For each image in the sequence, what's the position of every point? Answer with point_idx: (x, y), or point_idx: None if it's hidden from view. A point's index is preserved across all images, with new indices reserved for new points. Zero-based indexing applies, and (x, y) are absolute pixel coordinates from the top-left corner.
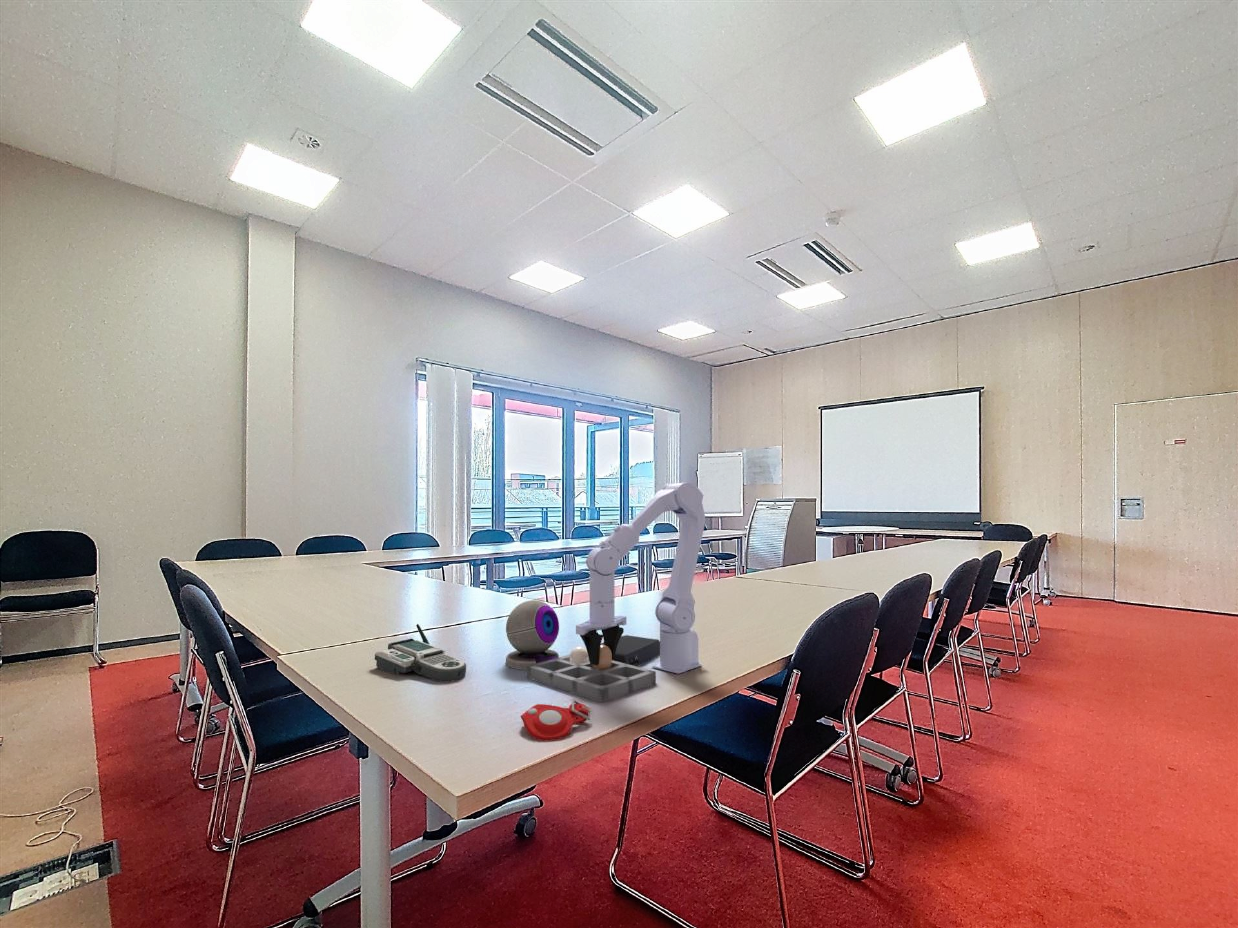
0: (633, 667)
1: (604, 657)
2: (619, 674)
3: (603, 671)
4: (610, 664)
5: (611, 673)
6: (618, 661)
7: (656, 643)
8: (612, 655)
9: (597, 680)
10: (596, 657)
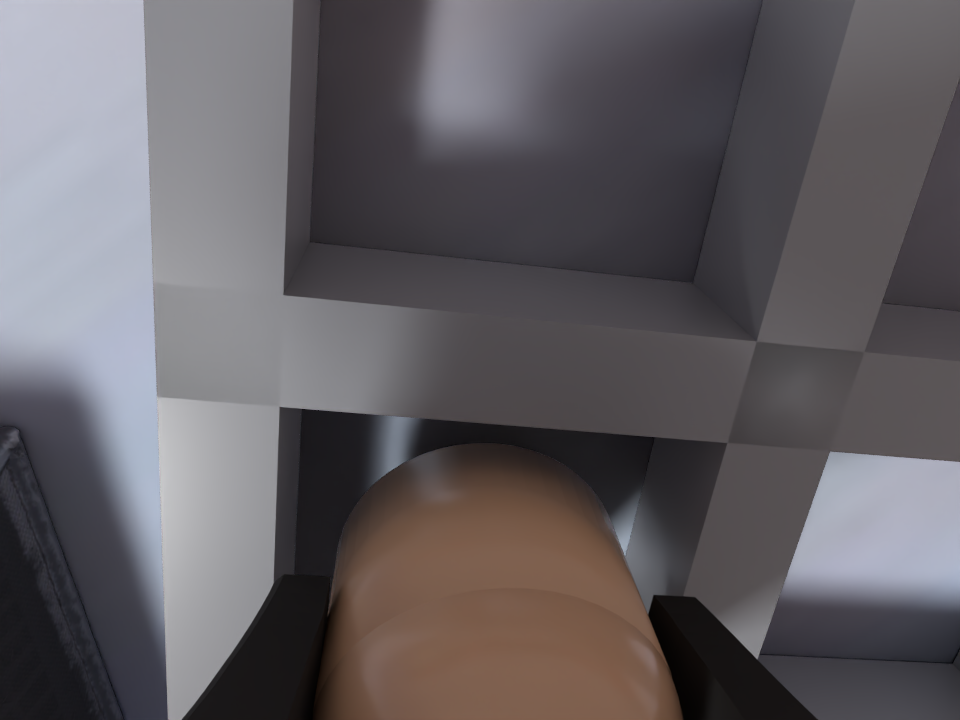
0: (242, 124)
1: (619, 614)
2: (444, 279)
3: (751, 404)
4: (467, 494)
5: (794, 235)
6: (1, 621)
7: None
8: (318, 628)
9: (913, 331)
10: (777, 680)
